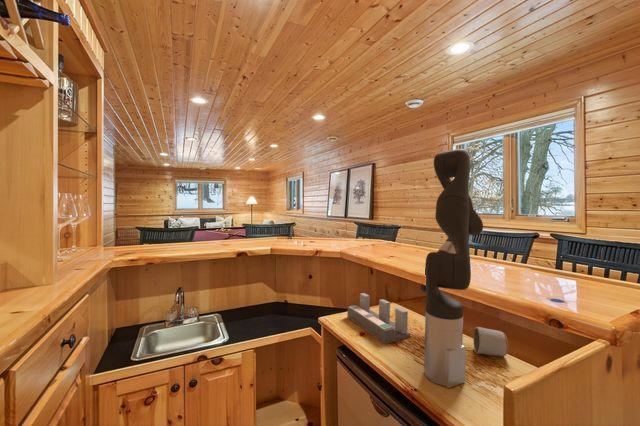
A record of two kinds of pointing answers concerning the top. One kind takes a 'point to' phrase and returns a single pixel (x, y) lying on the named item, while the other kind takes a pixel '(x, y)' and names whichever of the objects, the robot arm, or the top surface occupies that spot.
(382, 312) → the gray upright block
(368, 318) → the button console
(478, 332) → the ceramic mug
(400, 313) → the grey tall block
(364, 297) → the far button
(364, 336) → the top surface
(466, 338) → the top surface
